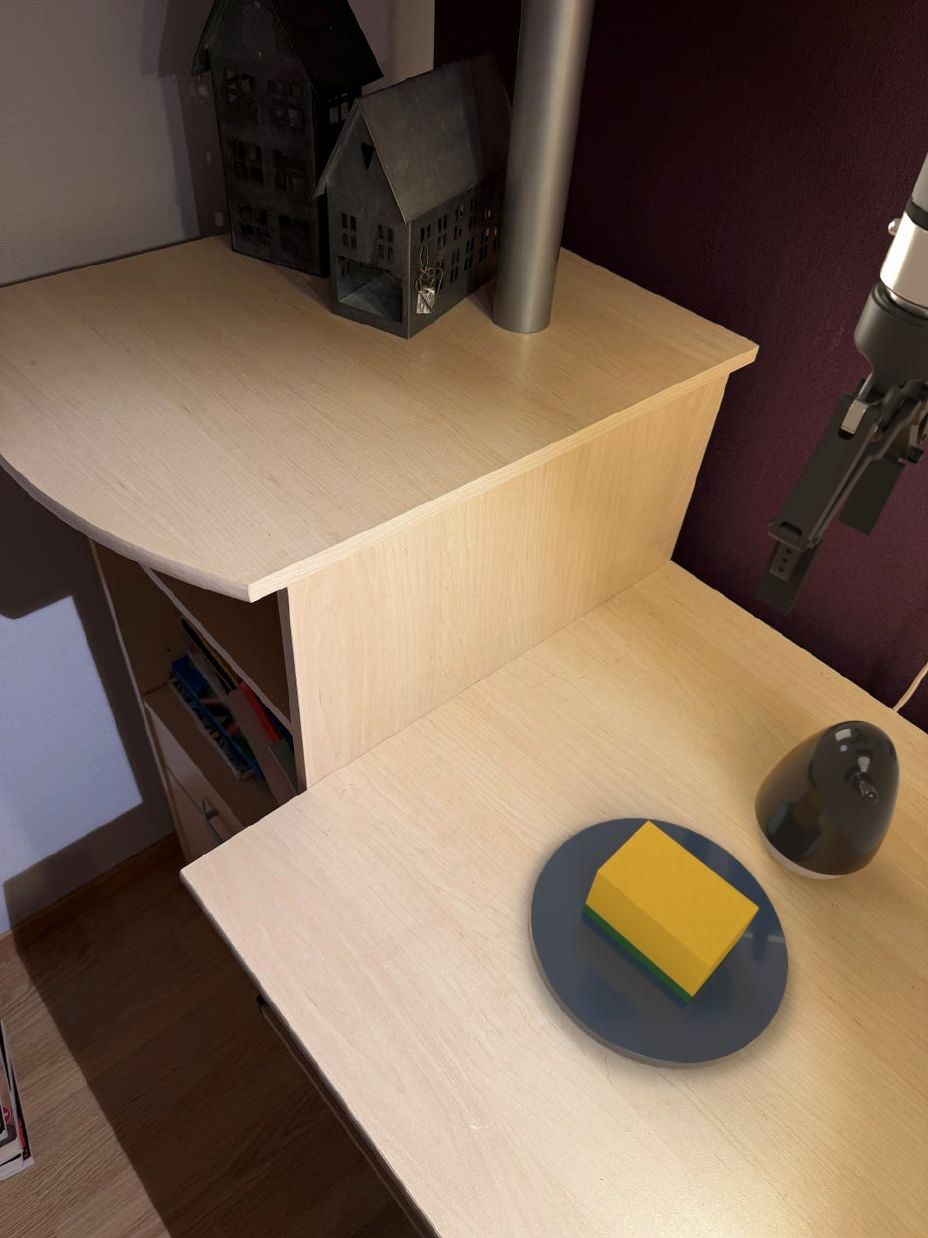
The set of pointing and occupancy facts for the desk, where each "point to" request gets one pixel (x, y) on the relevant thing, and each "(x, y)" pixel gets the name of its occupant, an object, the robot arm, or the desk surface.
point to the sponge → (668, 910)
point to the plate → (627, 990)
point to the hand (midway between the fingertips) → (815, 563)
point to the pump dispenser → (830, 801)
